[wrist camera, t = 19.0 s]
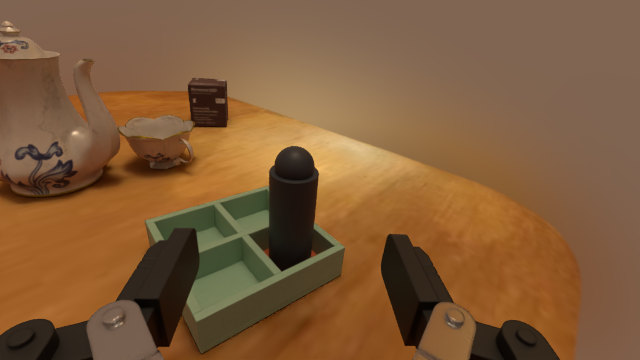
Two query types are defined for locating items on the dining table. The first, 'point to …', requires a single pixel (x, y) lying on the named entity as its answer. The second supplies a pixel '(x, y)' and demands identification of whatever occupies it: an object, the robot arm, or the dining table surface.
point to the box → (208, 102)
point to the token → (292, 207)
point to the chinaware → (67, 125)
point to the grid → (242, 265)
